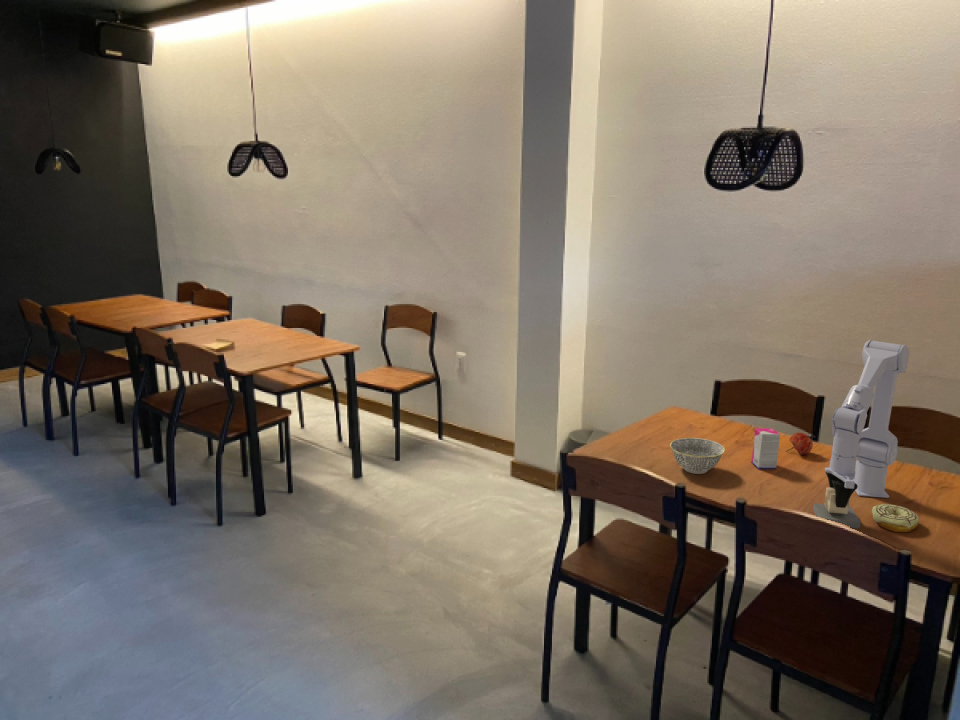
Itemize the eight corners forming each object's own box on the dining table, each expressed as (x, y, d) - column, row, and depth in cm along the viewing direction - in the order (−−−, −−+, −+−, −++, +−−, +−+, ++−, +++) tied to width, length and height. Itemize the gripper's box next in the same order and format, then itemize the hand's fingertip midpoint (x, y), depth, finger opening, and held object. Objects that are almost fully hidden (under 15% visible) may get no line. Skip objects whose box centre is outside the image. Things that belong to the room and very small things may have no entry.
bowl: (662, 474, 214) (664, 450, 212) (675, 456, 228) (676, 434, 226) (717, 484, 207) (719, 460, 205) (726, 465, 221) (728, 442, 219)
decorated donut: (868, 527, 181) (870, 513, 181) (872, 511, 190) (874, 498, 189) (916, 538, 176) (918, 524, 175) (917, 521, 185) (920, 507, 184)
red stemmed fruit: (790, 463, 228) (820, 449, 223) (777, 443, 229) (806, 429, 224) (793, 458, 234) (821, 444, 229) (780, 438, 235) (808, 424, 231)
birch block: (824, 504, 187) (826, 487, 186) (842, 506, 186) (845, 488, 185) (828, 512, 183) (831, 494, 182) (847, 513, 182) (850, 496, 181)
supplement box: (777, 469, 217) (780, 434, 214) (757, 469, 217) (761, 434, 214) (769, 462, 223) (773, 427, 220) (750, 462, 223) (754, 427, 220)
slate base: (813, 510, 191) (813, 503, 190) (849, 513, 189) (850, 506, 188) (821, 525, 182) (822, 518, 182) (859, 528, 180) (860, 521, 180)
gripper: (820, 442, 189) (814, 489, 192) (835, 463, 175) (828, 513, 178) (848, 444, 187) (842, 491, 191) (866, 465, 173) (859, 516, 177)
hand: (837, 502), depth 184 cm, fingers closed on birch block, 4 cm apart
